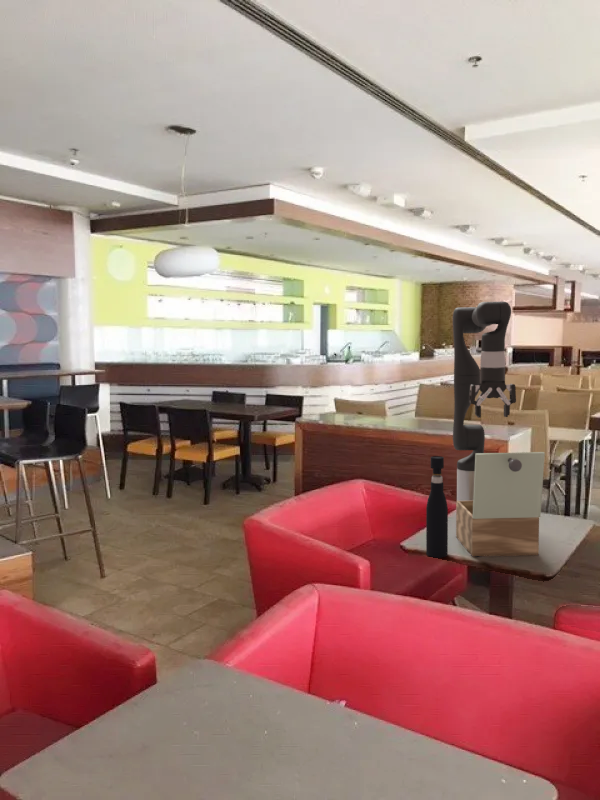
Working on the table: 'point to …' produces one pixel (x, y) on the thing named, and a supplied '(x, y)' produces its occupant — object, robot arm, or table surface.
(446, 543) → the wine bottle
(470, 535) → the crate
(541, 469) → the lid
